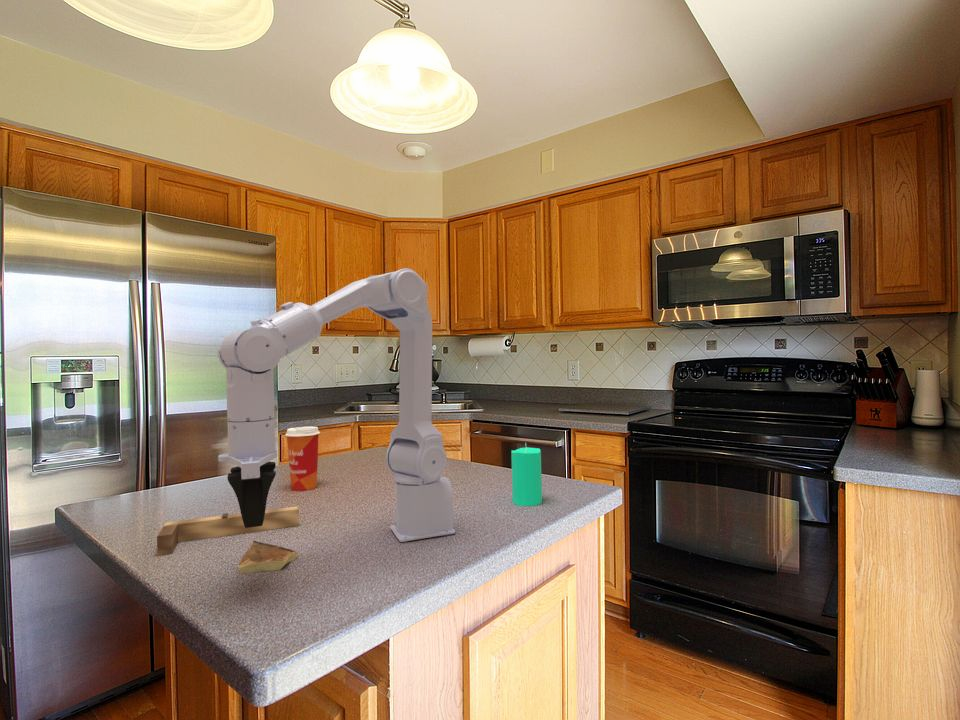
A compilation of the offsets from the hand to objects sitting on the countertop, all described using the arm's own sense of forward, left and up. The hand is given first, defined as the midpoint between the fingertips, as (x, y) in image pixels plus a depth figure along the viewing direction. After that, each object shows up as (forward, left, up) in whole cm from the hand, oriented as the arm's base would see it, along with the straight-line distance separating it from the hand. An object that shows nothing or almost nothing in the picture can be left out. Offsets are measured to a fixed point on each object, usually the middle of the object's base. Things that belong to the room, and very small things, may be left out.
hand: (254, 522), depth 68 cm
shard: (0, -9, -9) cm, 13 cm away
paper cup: (-9, -53, -9) cm, 54 cm away
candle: (-50, -19, -9) cm, 54 cm away
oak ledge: (+4, -22, -8) cm, 24 cm away
